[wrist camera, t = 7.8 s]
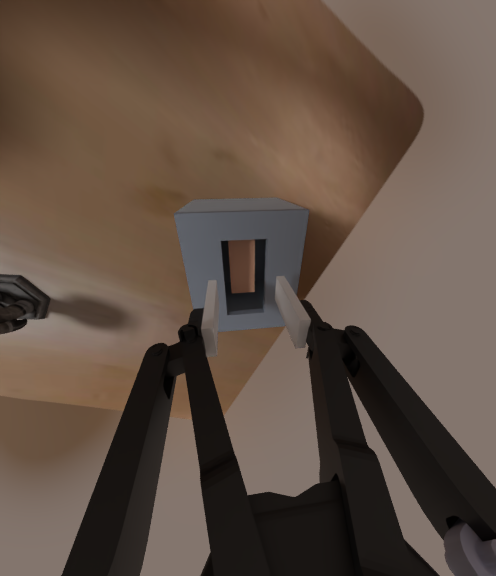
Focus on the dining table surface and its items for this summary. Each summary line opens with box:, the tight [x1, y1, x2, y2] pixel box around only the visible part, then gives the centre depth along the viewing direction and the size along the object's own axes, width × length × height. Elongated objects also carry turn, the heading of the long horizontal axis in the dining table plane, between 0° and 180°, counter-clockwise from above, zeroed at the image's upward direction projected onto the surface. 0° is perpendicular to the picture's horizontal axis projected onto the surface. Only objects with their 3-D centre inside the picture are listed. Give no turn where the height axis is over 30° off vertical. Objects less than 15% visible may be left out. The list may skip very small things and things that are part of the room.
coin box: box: [174, 198, 309, 332], centre depth 25 cm, size 14×12×12 cm
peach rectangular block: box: [228, 239, 255, 293], centre depth 26 cm, size 7×3×8 cm, turn 1°
